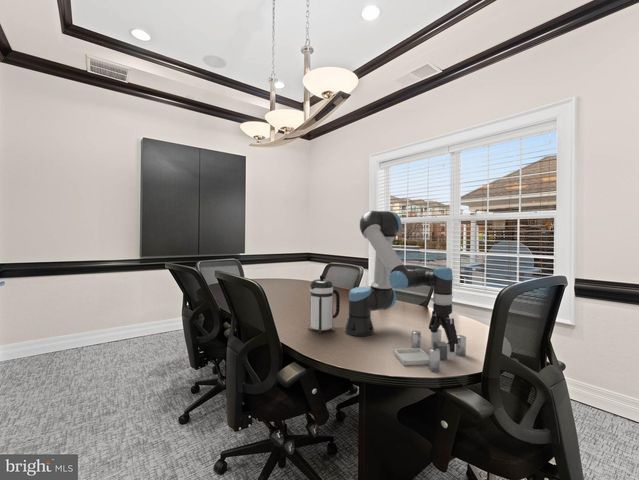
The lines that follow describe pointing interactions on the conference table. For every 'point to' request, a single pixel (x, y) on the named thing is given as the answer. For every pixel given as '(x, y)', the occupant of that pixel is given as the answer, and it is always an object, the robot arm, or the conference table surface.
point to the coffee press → (322, 304)
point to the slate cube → (441, 349)
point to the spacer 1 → (416, 339)
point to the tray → (411, 356)
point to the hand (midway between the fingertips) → (442, 352)
